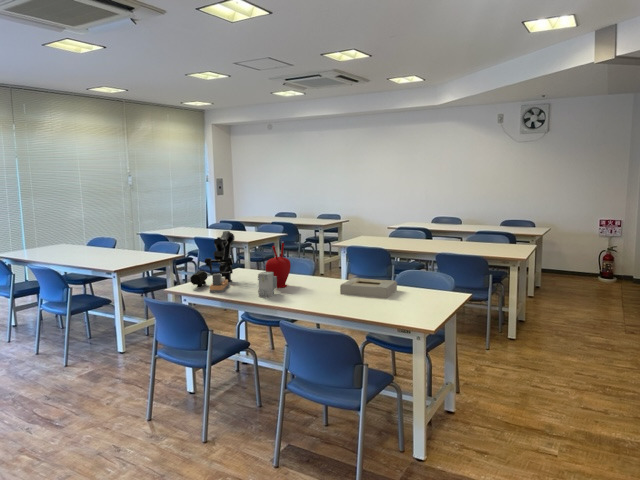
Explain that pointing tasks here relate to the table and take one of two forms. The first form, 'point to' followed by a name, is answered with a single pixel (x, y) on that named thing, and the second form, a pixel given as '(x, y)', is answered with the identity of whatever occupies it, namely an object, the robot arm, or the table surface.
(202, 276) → the security camera
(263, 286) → the circuit breaker
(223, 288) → the orange and grey housing
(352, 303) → the table surface
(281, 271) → the red antenna pod
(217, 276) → the dark grey block
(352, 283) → the box
